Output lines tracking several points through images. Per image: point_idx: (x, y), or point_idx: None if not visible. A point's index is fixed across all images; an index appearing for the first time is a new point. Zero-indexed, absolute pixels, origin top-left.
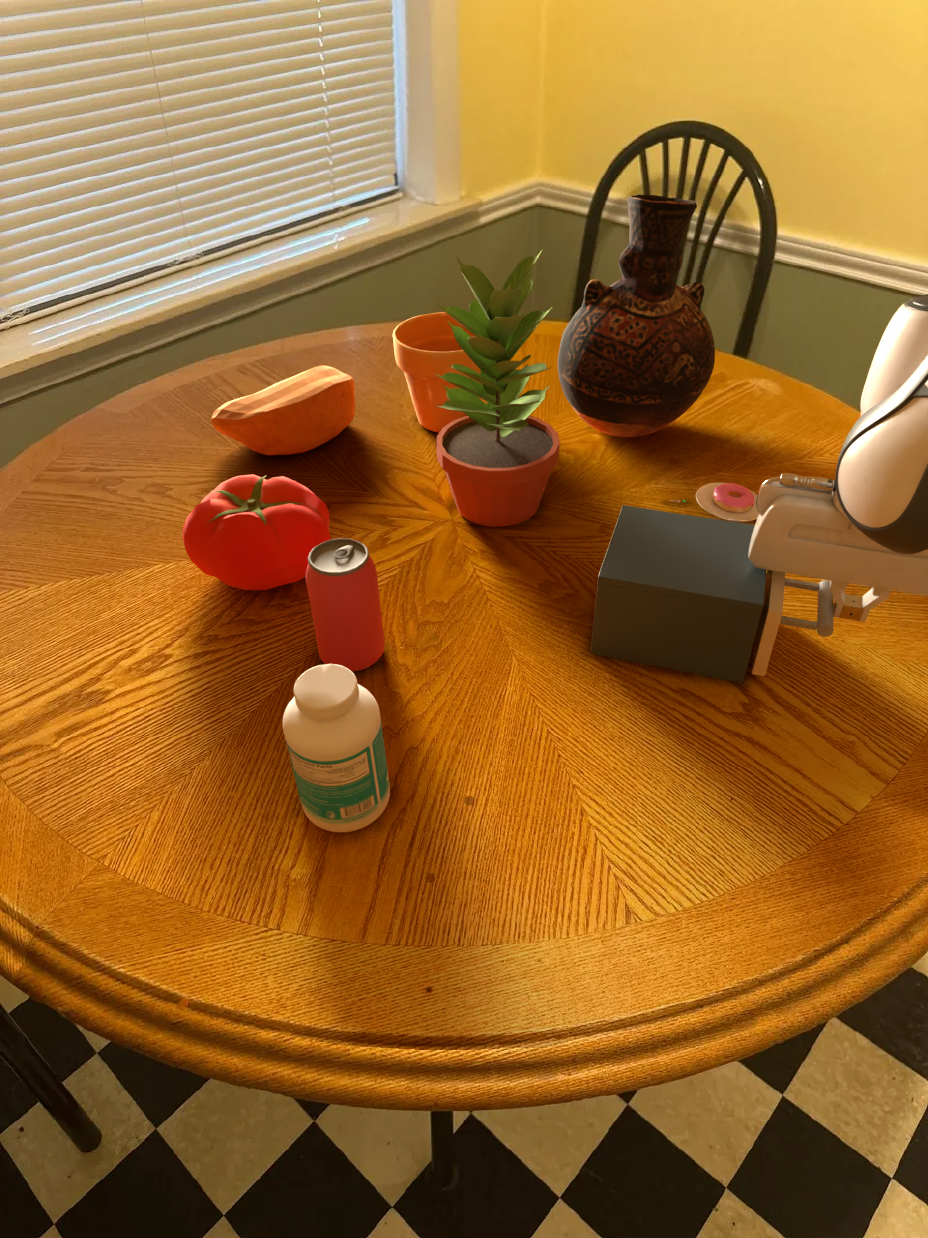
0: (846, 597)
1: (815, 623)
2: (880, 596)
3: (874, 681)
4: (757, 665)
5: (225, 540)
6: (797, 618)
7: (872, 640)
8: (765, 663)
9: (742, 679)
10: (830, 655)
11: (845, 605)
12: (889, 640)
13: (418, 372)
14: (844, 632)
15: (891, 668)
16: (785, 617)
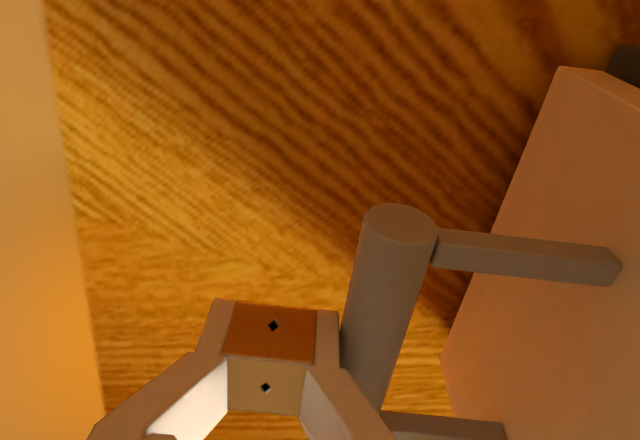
0: (293, 401)
1: (445, 256)
2: (136, 432)
3: (184, 127)
4: (615, 82)
5: None
6: (522, 277)
7: (193, 277)
8: (600, 82)
9: (633, 47)
10: (303, 213)
11: (304, 362)
12: (152, 282)
13: None
14: (260, 294)
15: (140, 188)
16: (581, 276)
